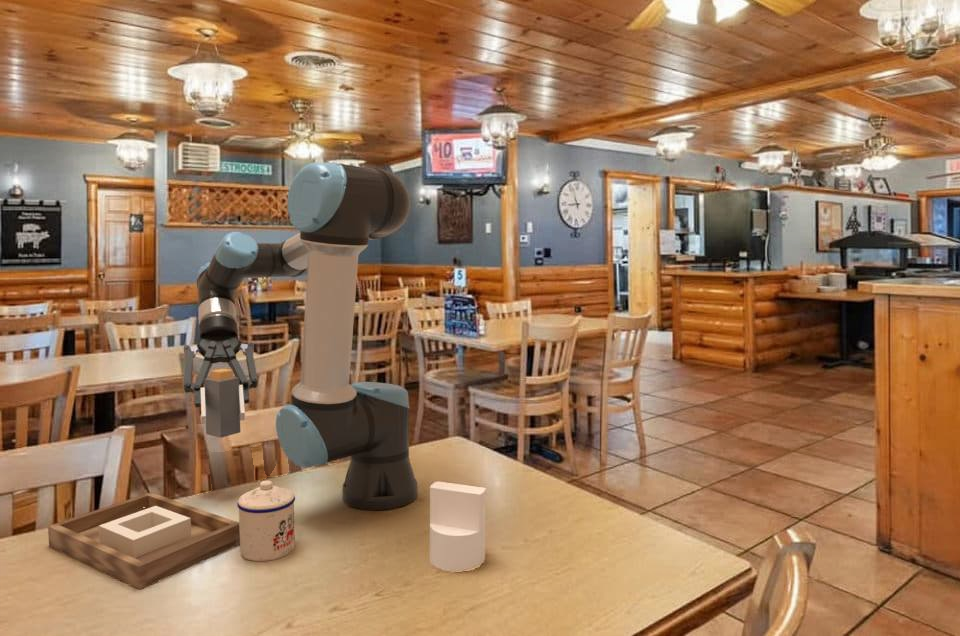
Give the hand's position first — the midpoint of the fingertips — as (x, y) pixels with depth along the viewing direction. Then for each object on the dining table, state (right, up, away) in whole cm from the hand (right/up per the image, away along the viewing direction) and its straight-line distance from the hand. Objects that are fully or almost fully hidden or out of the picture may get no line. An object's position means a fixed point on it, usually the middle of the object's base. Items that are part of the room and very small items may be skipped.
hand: (223, 418), depth 125 cm
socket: (-7, -18, -15) cm, 25 cm away
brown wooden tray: (-7, -19, -15) cm, 25 cm away
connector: (-1, -4, +4) cm, 5 cm away
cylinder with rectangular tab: (+46, -20, -19) cm, 53 cm away
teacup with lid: (+14, -19, -15) cm, 28 cm away
